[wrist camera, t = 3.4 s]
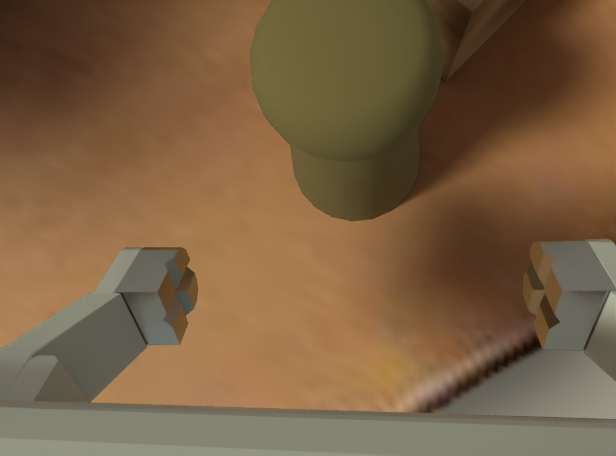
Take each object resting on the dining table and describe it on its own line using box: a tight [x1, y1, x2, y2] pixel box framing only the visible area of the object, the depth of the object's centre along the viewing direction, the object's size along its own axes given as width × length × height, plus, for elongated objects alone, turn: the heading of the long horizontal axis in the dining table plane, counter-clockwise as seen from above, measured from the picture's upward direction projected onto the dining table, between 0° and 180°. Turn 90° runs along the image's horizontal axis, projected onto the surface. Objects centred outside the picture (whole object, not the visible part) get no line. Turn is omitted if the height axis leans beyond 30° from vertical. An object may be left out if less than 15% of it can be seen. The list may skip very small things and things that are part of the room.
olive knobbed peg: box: [250, 0, 445, 221], centre depth 16 cm, size 6×6×11 cm
